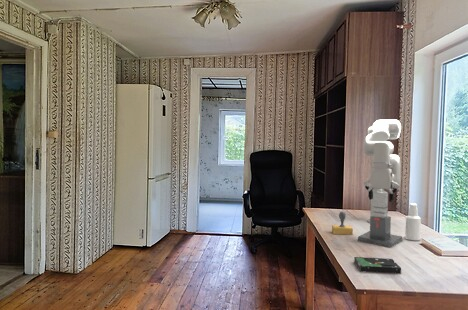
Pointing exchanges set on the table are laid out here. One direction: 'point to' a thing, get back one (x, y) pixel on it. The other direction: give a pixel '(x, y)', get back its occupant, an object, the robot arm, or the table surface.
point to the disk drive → (377, 265)
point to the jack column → (380, 204)
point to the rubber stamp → (342, 226)
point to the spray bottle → (413, 223)
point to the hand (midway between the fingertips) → (380, 200)
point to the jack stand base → (380, 233)
